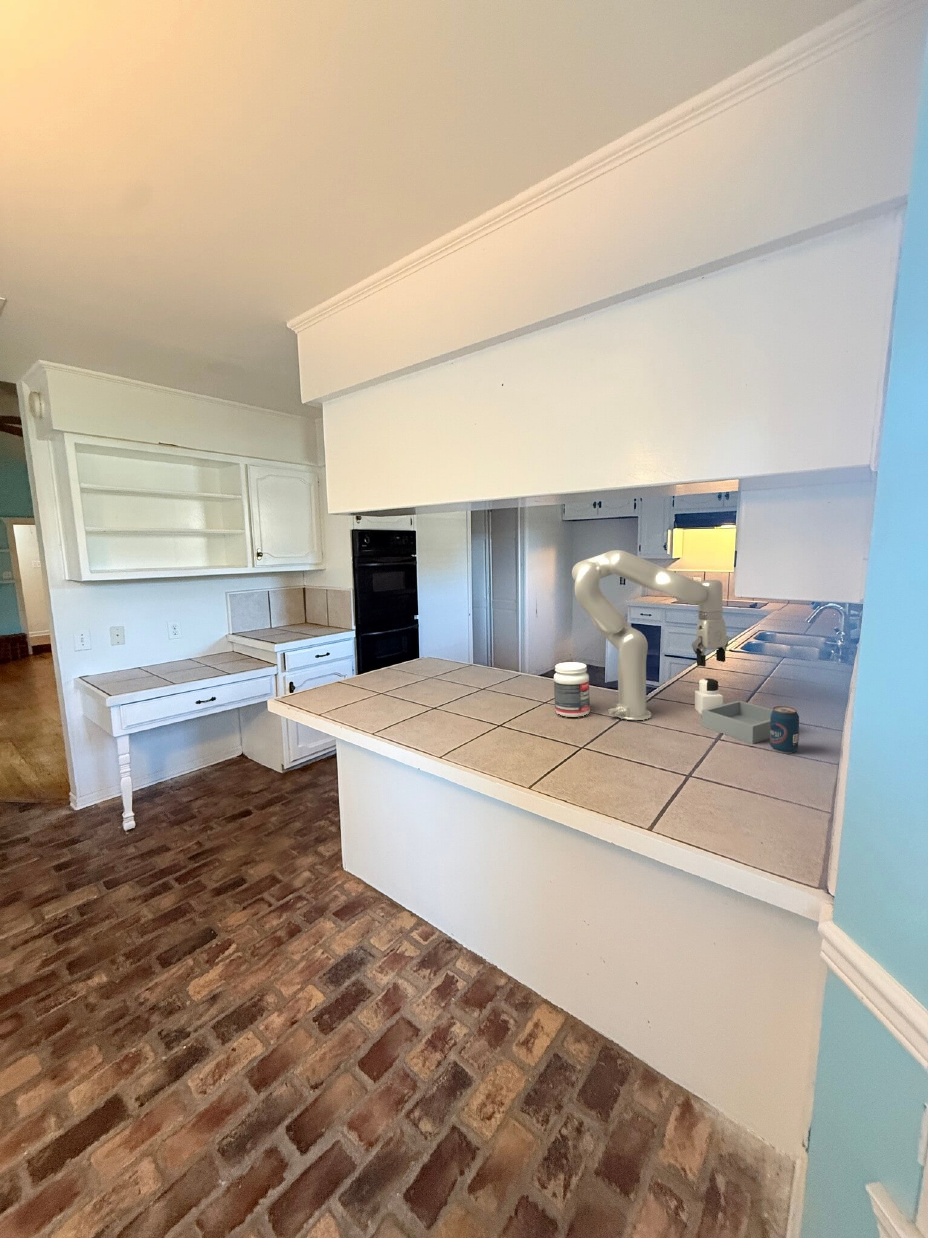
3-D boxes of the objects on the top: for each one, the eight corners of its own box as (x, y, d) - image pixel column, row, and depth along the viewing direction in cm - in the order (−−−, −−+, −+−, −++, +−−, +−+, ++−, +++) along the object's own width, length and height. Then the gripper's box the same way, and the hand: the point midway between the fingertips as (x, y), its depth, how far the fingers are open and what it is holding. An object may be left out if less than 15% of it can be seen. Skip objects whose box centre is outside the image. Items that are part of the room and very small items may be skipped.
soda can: (764, 747, 144) (764, 708, 142) (780, 742, 146) (781, 704, 145) (786, 756, 137) (787, 715, 136) (804, 751, 140) (805, 710, 138)
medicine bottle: (714, 708, 178) (715, 676, 177) (723, 715, 171) (723, 682, 170) (694, 709, 179) (694, 677, 178) (701, 715, 172) (702, 682, 171)
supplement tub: (591, 719, 176) (590, 669, 173) (555, 719, 178) (553, 670, 175) (588, 707, 188) (587, 661, 186) (554, 708, 190) (552, 662, 188)
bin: (752, 744, 147) (752, 726, 146) (701, 726, 163) (701, 710, 162) (791, 731, 154) (791, 714, 153) (738, 715, 170) (738, 700, 169)
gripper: (701, 619, 164) (702, 669, 166) (737, 613, 171) (737, 661, 173) (683, 617, 171) (684, 665, 173) (718, 611, 178) (719, 657, 180)
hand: (711, 663), depth 173 cm, fingers open, 9 cm apart
